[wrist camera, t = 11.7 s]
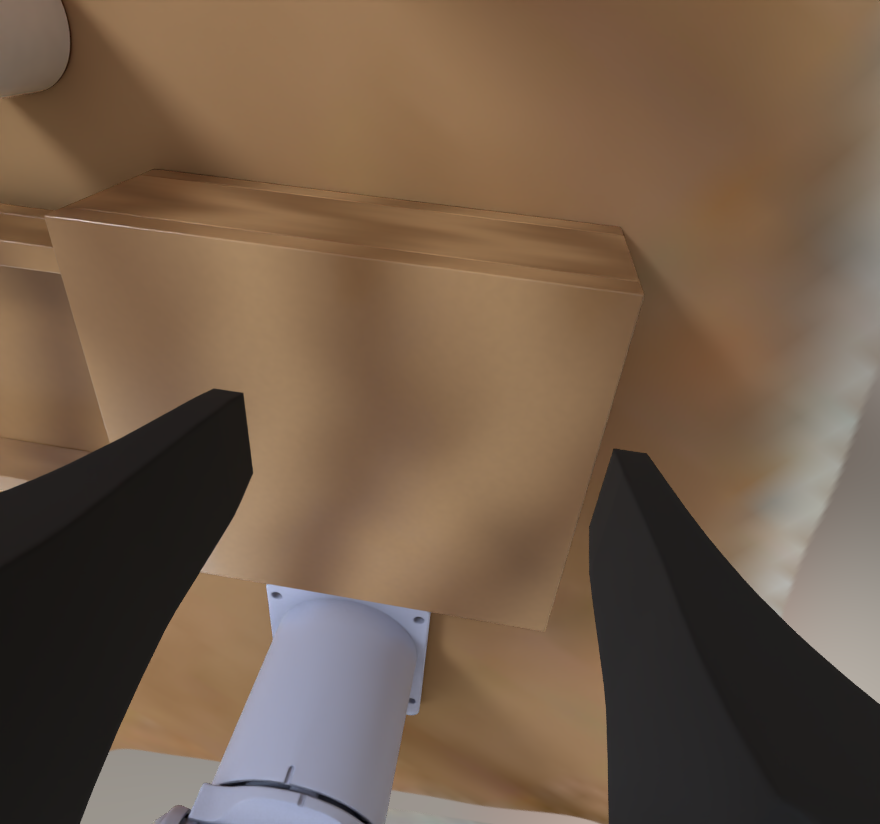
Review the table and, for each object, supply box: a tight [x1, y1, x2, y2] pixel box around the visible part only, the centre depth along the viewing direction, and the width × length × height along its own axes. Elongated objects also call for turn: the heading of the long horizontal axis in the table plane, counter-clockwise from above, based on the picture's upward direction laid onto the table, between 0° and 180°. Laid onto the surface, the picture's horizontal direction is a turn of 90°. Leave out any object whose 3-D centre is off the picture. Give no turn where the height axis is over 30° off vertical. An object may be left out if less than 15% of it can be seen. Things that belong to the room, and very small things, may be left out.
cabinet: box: [44, 169, 644, 632], centre depth 20 cm, size 15×13×5 cm
